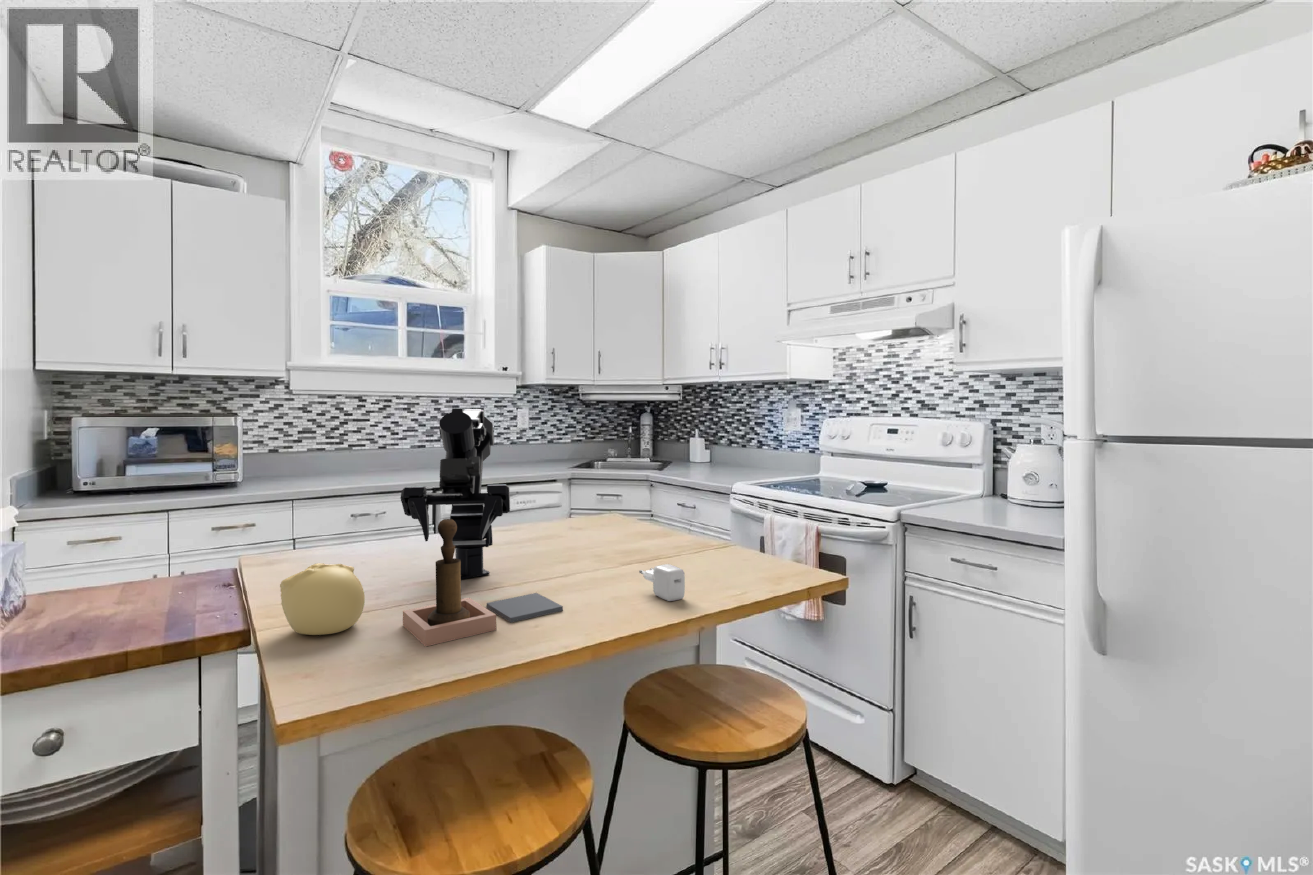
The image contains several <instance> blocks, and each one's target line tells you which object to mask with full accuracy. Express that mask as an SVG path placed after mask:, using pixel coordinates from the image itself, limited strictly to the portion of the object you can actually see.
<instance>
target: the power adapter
mask: <svg viewBox="0 0 1313 875" xmlns="http://www.w3.org/2000/svg"><path fill="white" fill-rule="evenodd" d="M638 571H639V572H638V573H639V574H642V575H643V578H644V579H645V580H647V581H649V582H651V583H652V586H653V587H652V588H653V590H652V591H653V594H654V595H655V597H658V598H660V599H662V600H665V601H667V602H672V601H678V600H682V599H684V597H685V591H686V590H685V587H686V584H685V583H686V582H685V579H686V578H685V576H686V575H685V571H684V569H682V568H680V567H677V566H675V565H672V564H670V563H666V564H660V565H655V566H654V567H651V568H649V569H647V570H643V569H640V570H638Z"/></svg>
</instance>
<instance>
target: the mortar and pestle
mask: <svg viewBox="0 0 1313 875" xmlns="http://www.w3.org/2000/svg"><path fill="white" fill-rule="evenodd" d="M456 531H457V524H456V522H455V521H454V520H452V519H450V518H443V519H442V520H440V522H439V523H438V524H437V532H438V534H439V536H440V537H441V539H442V546H441V545H440V552H441V555H442V558H441V559H439V560H436V561H435V604H436V609H434V610H433V611H432V612H431V613H430V614H429V615H428V623H427V624H428V625H429V626H435V625H439V624H444V623H448V622H453V621H458V620H462V619H467V618H470V612H469V611H468V610H466V609H465V608H464V607H462V606H461V599H462V591H461V590H462V588H461V587H462V583H461V581H462V579H461V561H460V559H456V557H455V558H454V556H455V546H454V545H453V542H452V539H453V537H454V535H455V533H456Z"/></svg>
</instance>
